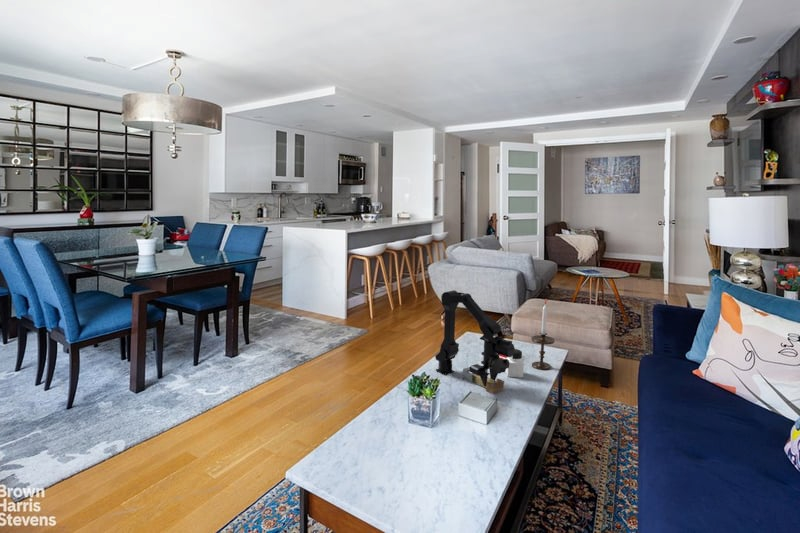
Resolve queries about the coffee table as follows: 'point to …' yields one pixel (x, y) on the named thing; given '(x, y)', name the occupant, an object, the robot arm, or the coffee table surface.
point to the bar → (478, 380)
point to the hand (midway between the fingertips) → (488, 384)
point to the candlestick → (542, 343)
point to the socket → (495, 386)
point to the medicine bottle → (515, 365)
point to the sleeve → (467, 375)
